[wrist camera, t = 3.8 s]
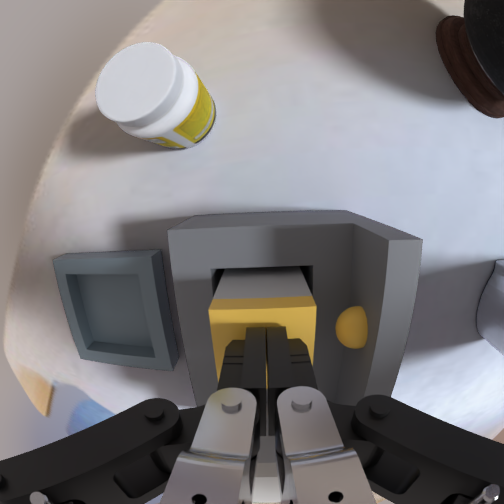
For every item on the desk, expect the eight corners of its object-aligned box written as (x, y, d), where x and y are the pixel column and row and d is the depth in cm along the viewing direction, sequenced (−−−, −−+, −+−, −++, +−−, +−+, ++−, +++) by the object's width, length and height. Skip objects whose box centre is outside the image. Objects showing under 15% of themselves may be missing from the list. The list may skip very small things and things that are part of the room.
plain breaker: (237, 384, 18) (226, 476, 10) (293, 382, 18) (305, 474, 10) (241, 418, 19) (233, 502, 11) (291, 417, 19) (299, 500, 11)
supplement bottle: (207, 78, 16) (173, 19, 8) (226, 136, 17) (199, 102, 9) (145, 103, 17) (82, 66, 9) (161, 160, 18) (97, 149, 10)
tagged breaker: (230, 254, 18) (208, 309, 10) (293, 252, 18) (316, 306, 10) (234, 311, 19) (219, 389, 11) (292, 309, 19) (310, 386, 11)
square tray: (66, 253, 20) (52, 259, 18) (161, 249, 20) (151, 256, 18) (90, 347, 22) (80, 358, 20) (178, 357, 22) (172, 370, 20)
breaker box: (195, 215, 19) (131, 249, 9) (346, 210, 18) (422, 239, 9) (219, 408, 23) (203, 495, 14) (329, 404, 23) (350, 488, 13)
